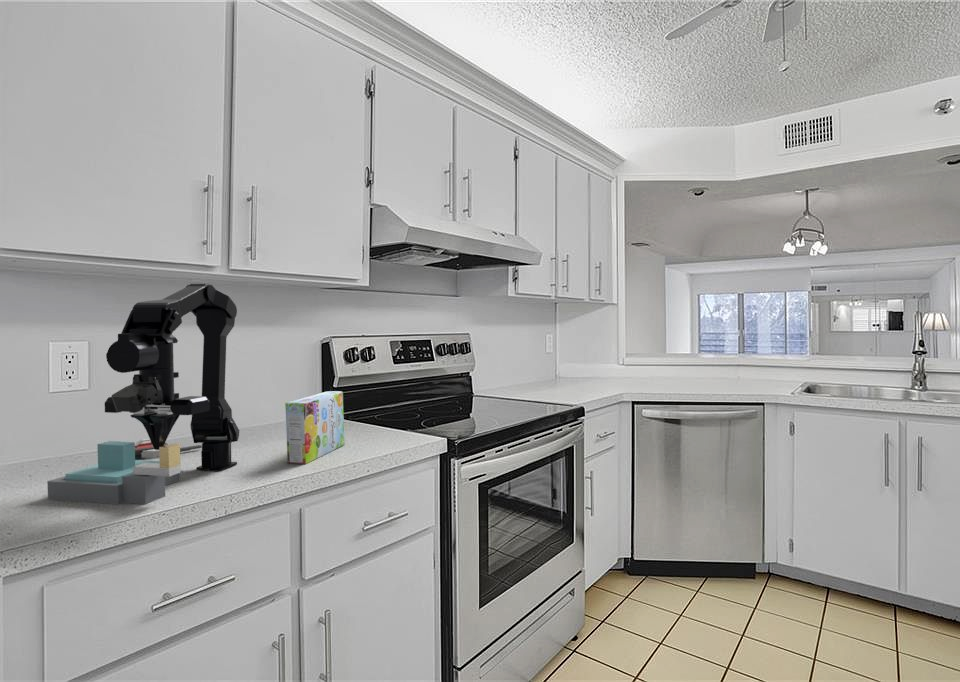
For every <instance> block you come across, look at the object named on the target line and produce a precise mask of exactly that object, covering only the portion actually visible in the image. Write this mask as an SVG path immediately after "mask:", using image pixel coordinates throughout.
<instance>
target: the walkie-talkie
mask: <svg viewBox="0 0 960 682" xmlns="http://www.w3.org/2000/svg"><path fill="white" fill-rule="evenodd" d="M143 442H145V443H143ZM168 444H169V443H167V442H165V444H164V446H165V445H168ZM196 449H197V450H198V449H202V444H198V445H197V444H196V445H190V446H183V447H180V453H181V452H188V451H191V450H196ZM157 458H159V450H155V449H154V447H153V445H152V442H151V440H150V438H149V437H148V438H141V439H139V440H138V441H137V442H136V443H135V460H140V459H142V460H145V459H148V460H149V459H151V460H152V459H157ZM159 459H160V458H159Z"/></svg>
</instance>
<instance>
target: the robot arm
mask: <svg viewBox="0 0 960 682" xmlns="http://www.w3.org/2000/svg"><path fill="white" fill-rule="evenodd" d="M190 312H191V313H192V315H194V316H195V319H196V320H195V321H196V326H197V328H198V329H199V331H200V332H201V334H202V335H203V343H202V344H203V345H202V346H203V349H202V372H201V373H202V377H201V396H199V395H196V396H195V395H189V396H184V397H180V393H179V392H175V379H177V378H179V377H180V376H179V374H180V373H179V371H174V370H175V369H174V368H175V367H174V344H177V343H178V341H179V340H178V339H177V338H176V336H174V335H173V333H174V332H175V331H176V330H177V329H178V328H179V326H181V325H182V323H183V320H182V318H183V317H184V316H185V315H188V314H189V313H190ZM237 313H238V308H237V305H236V303H235V302H234V301H233V300H232V298H231V297H230V296H229V295H228V294H225V293H223V292H221V291H219V290H217V288H215V287H214V285H213V284H209V283H190V284H187V285H186V286H185V287H183V288H182V289H180V290H178V291H176V292H174V293H172V294H170V295H168V296H166V297H164V298H162V299H156V300H155V299H154V300H144V301H140V302H137V303H135V304H134V305H133V306H132V309H131V311H130V312H129V315H128V317H127V320H126V321H125V324H124V326H123V328H122V331H121V333H118V334H117V340H116V341H114V342H112V344H111V345H110V346H109V348H108V349H107V352H106V355H105V357H106V361H107V363H108V365H109V366H108V367H110V368H111V369H112V370H113V371H115V372H117V373H121V374H123V373H124V374H125V373H126V374H127V373H132V372H138V373H135V374H133V376H132V384H130V385H127V386H124V387H123V388H121V389H119V390H118V391H117V392H114V393H113V394H112V395H111V396H109V397H108V398H107V399H106V400H105V401H104V413H109V414H110V413H111V414H117V413H122V412H127V413H128V412H129V413H131V414H130V417H131V418H133V419H136V420H137V421H138V422H140V423H141V424H142V426H143V427H144V430H145V432H146V433H147V436H148V438H150V442H152V445H153V447H154V449H155V450H159V447H161V446H164V444H165V443H167V442H166V441H167V439H168V438H169V436H170V433H171V431H172V430H173V427H174V426H175V424H176V422H177V421H178V419H179V417H180V416H191V420H190V431H191V436H192V441H193V444H201V446H202V448H201V452H200V455H201V465H200V466H197V467H196V470H198V471H199V470H200V471H214V472H215V471H216V472H217V471H218V472H221V471H223V470H226V469H229V468H231V467H233V466H236V465H238V461H232V443H235V442H238V441H239V438H240V429H239V427H238V425H237V423H236V422H235V420H234V418H233V411H232V410H233V409H232V408H231V406H230V404H229V403H228V401H227V400H226V397H225V395H226V363H227V361H226V359H227V338H228V336H229V334H230V333H231V332H232V330H233V328H234V327H235V321H236V317H237Z"/></svg>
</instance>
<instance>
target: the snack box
mask: <svg viewBox="0 0 960 682" xmlns="http://www.w3.org/2000/svg"><path fill="white" fill-rule="evenodd" d="M284 404H285V407H284V408H285V426H286V429H285V433H286V454H287V455H286V456H287V458H286V459H287V460H286V461H287V462H286V463H287V464H296V465H297V464H298V465H299V464H300V465H301V464H303V465H306V464H309V463H311V462H314V460H317V459H318V458H321V457H323V456H326V455H327V454H329V453H330V452H333V451H335V450H337V449H338V448H340V447H342V446H345V444H346V443H345V441H346V440H345V419H344V418H345V415H344V392H343V391H338V390H335V391H333V390H332V391H329V390H327V391H324V392H323V391H322V392H320V393H317V394H313V395H310V396H305V397H302V398H298V399H295V400H291V401H288V402H286V403H284Z"/></svg>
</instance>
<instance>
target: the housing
mask: <svg viewBox="0 0 960 682" xmlns="http://www.w3.org/2000/svg"><path fill="white" fill-rule="evenodd" d="M180 473H181V472H180ZM180 473H177V474H175V475H172V476H169V477H168V476H151V475H134V474H133V473H131V474H128V475H125V476H122V482H120V483H108V482H92V481H76V480H66V477H65V475H64V476H60V477H57V478H54V479H51V480H47V500H54V501H55V500H56V501H67V502H68V501H69V502H81V503H83V502H84V503H96V504H97V503H98V504H107V505H108V504H109V505H110V504H111V505H112V504H113V505H120V504H123V503H124V504H138V505H139V504H140V505H147V504H149V503H152V502H155V501H157V500H159V499H161V498H163V497H166V487H167V486H168V485H172V484H174V483H177V482H179V481H181V480H180V479H181V478H180V476H181V474H180Z"/></svg>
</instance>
